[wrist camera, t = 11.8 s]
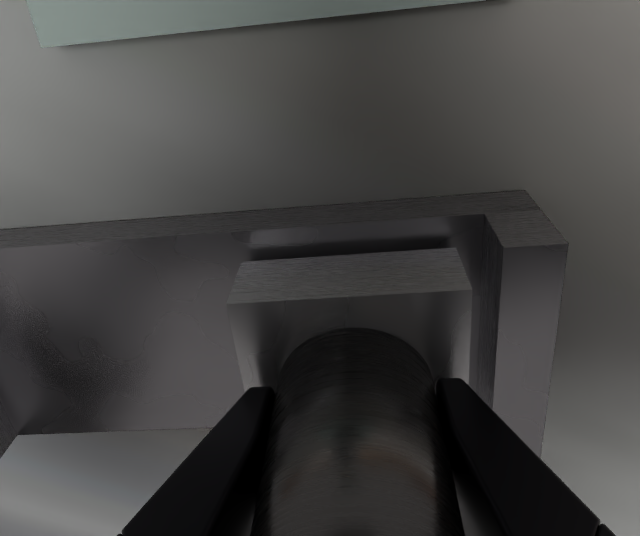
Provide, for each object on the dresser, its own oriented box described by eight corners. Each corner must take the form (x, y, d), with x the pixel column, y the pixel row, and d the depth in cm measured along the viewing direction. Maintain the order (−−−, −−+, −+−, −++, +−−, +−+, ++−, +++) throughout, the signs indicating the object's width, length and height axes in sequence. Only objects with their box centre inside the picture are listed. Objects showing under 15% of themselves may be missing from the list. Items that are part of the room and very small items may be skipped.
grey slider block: (449, 524, 14) (508, 847, 9) (292, 527, 14) (260, 838, 9) (456, 247, 10) (565, 529, 5) (242, 262, 10) (138, 537, 5)
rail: (508, 385, 13) (539, 465, 11) (2, 407, 14) (-59, 483, 12) (525, 189, 11) (568, 243, 8) (-84, 236, 12) (-179, 292, 10)
